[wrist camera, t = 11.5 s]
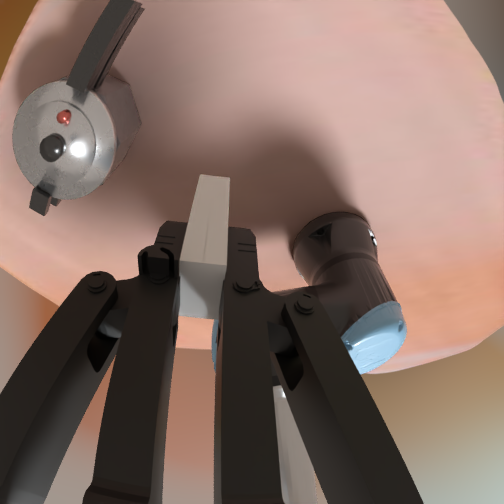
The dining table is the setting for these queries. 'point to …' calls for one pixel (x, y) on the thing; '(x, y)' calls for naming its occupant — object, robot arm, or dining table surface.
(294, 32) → the dining table surface
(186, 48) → the dining table surface
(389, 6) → the dining table surface
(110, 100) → the cooker pot
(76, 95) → the lid
